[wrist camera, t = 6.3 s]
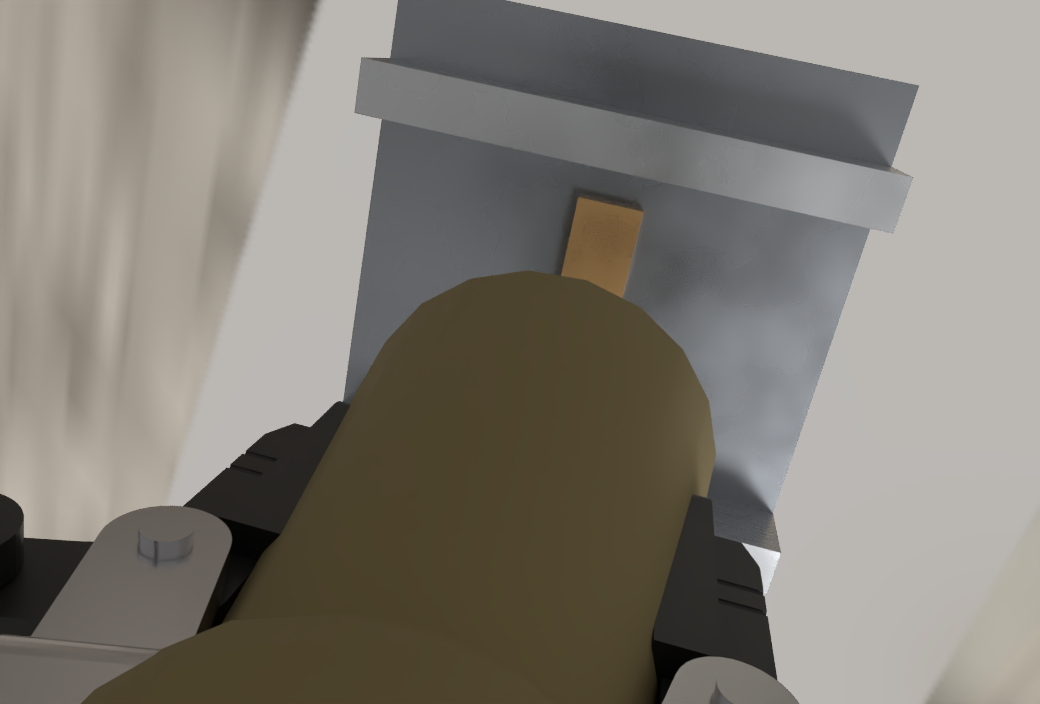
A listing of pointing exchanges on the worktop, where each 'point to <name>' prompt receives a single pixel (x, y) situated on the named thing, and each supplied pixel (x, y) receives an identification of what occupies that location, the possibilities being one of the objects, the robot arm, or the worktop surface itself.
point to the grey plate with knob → (635, 201)
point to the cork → (473, 518)
